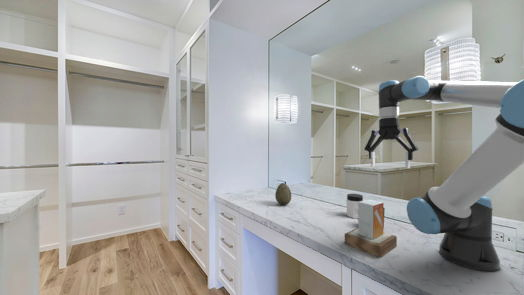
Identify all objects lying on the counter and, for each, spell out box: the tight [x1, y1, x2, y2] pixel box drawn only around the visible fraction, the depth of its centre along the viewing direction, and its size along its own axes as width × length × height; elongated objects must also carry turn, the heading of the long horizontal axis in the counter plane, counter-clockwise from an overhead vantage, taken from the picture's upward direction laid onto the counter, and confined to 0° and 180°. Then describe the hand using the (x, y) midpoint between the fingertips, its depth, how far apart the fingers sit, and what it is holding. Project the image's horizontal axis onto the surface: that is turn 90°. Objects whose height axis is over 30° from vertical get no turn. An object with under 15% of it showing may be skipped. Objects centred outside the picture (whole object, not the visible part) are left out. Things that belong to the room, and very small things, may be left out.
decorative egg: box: [274, 182, 292, 206], centre depth 143 cm, size 11×11×15 cm
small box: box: [357, 199, 385, 239], centre depth 85 cm, size 8×6×13 cm
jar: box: [346, 193, 364, 220], centre depth 119 cm, size 9×8×12 cm
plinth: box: [344, 227, 398, 258], centre depth 85 cm, size 14×14×4 cm
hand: (389, 167), depth 91 cm, fingers open, 13 cm apart
